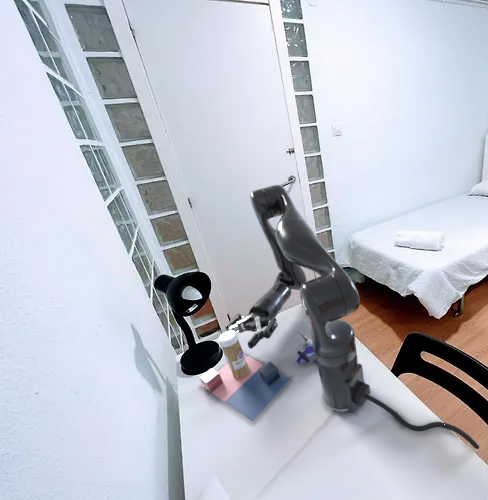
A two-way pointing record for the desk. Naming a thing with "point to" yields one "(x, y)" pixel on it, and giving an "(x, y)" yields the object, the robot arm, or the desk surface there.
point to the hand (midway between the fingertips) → (236, 344)
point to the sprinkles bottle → (234, 354)
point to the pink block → (211, 380)
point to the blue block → (269, 373)
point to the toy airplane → (306, 351)
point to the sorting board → (248, 389)
